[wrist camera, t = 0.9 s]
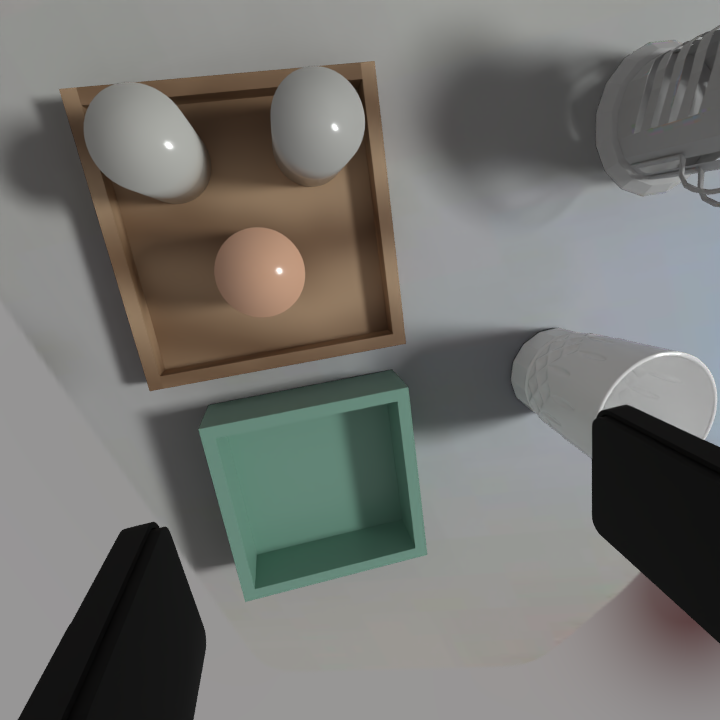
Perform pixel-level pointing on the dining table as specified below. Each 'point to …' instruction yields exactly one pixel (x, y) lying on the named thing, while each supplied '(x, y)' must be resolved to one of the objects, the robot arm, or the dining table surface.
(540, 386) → the white cup
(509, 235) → the dining table surface
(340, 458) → the bin
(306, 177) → the pebble
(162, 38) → the dining table surface
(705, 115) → the french press
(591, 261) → the dining table surface
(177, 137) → the pebble
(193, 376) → the tray
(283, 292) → the brown smooth lump
